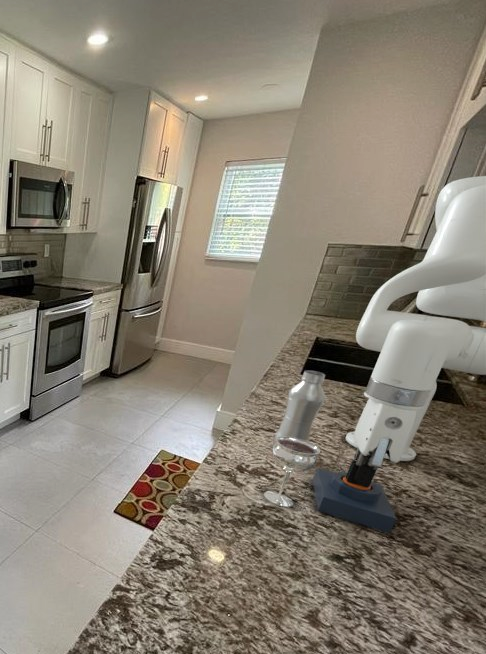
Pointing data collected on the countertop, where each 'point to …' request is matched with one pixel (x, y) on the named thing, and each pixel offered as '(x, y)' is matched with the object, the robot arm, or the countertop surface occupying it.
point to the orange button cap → (356, 485)
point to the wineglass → (291, 463)
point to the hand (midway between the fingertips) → (356, 482)
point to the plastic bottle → (302, 406)
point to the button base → (352, 501)
